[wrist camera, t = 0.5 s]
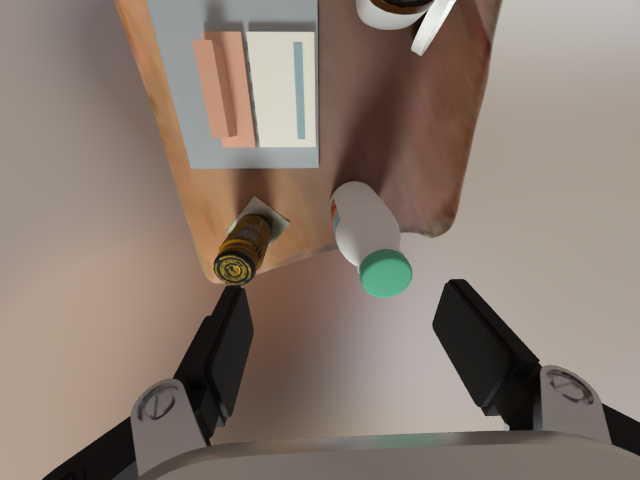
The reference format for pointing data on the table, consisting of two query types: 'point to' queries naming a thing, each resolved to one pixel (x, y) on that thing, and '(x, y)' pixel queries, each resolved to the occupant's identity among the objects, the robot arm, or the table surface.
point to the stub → (226, 87)
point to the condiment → (248, 242)
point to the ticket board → (263, 74)
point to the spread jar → (406, 17)
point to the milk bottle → (369, 239)
